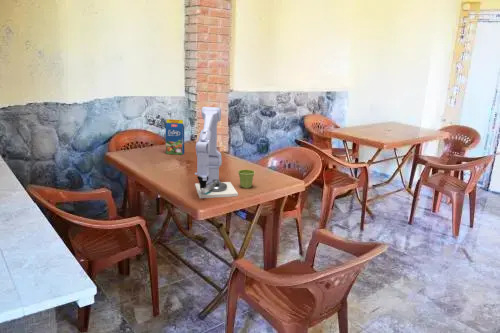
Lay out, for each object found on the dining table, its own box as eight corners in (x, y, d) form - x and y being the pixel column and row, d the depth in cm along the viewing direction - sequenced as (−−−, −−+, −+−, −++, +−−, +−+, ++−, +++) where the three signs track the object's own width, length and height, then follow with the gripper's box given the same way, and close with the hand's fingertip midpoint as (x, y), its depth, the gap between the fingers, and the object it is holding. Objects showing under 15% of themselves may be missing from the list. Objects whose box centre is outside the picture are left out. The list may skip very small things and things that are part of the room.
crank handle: (210, 183, 227) (210, 176, 226) (230, 186, 223) (230, 179, 222) (191, 194, 208) (191, 186, 207) (212, 198, 204) (212, 190, 202)
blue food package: (168, 152, 301) (167, 118, 294) (184, 153, 300) (184, 119, 293) (165, 154, 295) (165, 119, 288) (182, 155, 294) (181, 120, 287)
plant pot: (240, 189, 224) (240, 174, 221) (235, 184, 232) (236, 169, 230) (256, 188, 226) (256, 173, 224) (251, 183, 235) (252, 169, 233)
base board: (194, 186, 227) (194, 183, 226) (230, 184, 232) (230, 181, 231) (199, 198, 208) (199, 195, 208) (237, 196, 213) (237, 193, 213)
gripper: (193, 161, 213) (193, 185, 217) (196, 168, 199) (196, 195, 203) (206, 160, 215) (206, 185, 218) (211, 168, 201) (210, 194, 205)
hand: (202, 189), depth 211 cm, fingers closed
